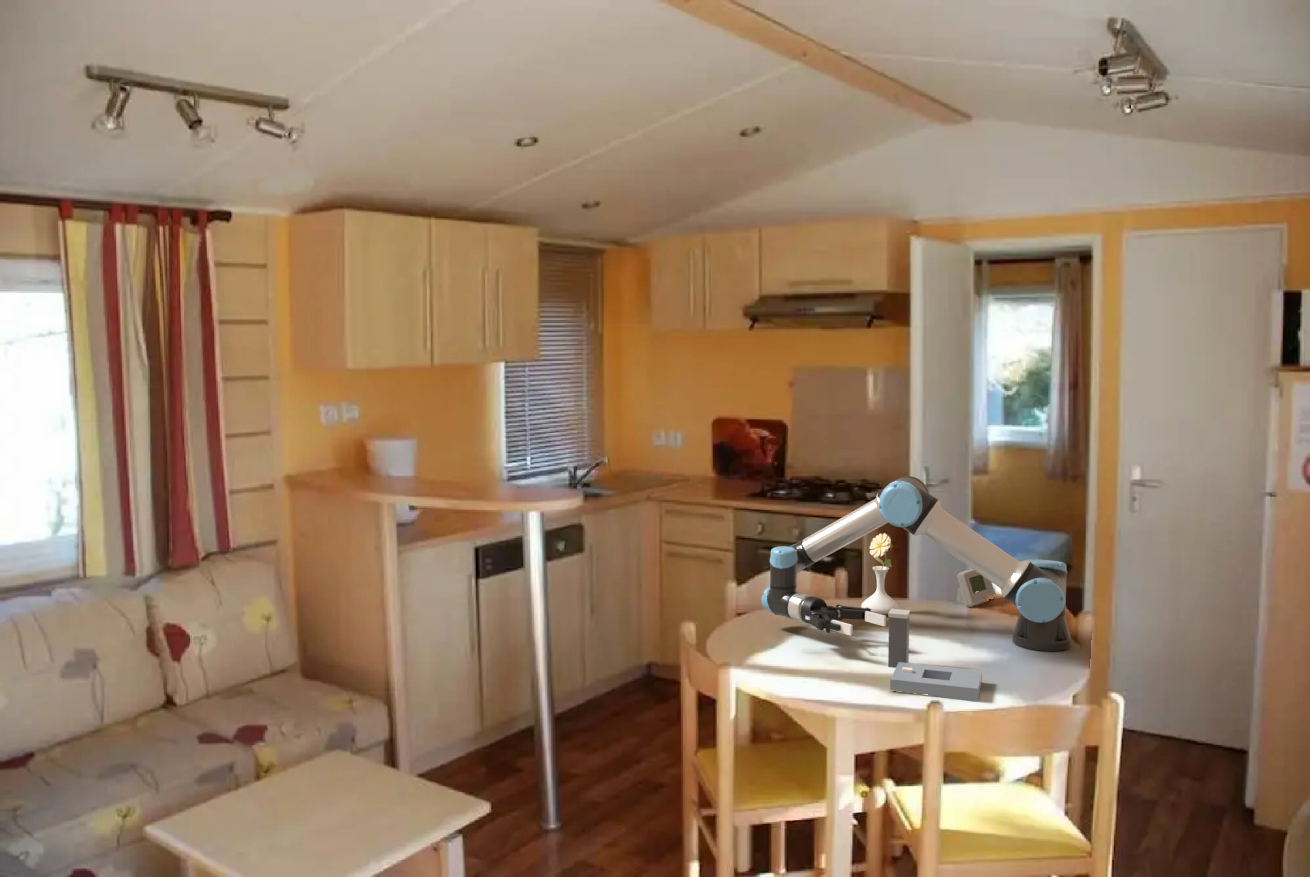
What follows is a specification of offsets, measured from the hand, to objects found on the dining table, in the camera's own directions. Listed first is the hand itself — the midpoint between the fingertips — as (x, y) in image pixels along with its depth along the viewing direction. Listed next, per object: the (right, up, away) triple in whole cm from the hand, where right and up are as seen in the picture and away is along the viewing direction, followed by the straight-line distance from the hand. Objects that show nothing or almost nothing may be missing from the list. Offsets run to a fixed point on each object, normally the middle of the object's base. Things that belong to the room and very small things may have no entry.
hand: (868, 625), depth 281 cm
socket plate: (+12, -11, -24) cm, 28 cm away
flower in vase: (+12, -4, +43) cm, 45 cm away
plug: (+6, -9, -7) cm, 13 cm away
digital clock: (+45, -3, +55) cm, 71 cm away
